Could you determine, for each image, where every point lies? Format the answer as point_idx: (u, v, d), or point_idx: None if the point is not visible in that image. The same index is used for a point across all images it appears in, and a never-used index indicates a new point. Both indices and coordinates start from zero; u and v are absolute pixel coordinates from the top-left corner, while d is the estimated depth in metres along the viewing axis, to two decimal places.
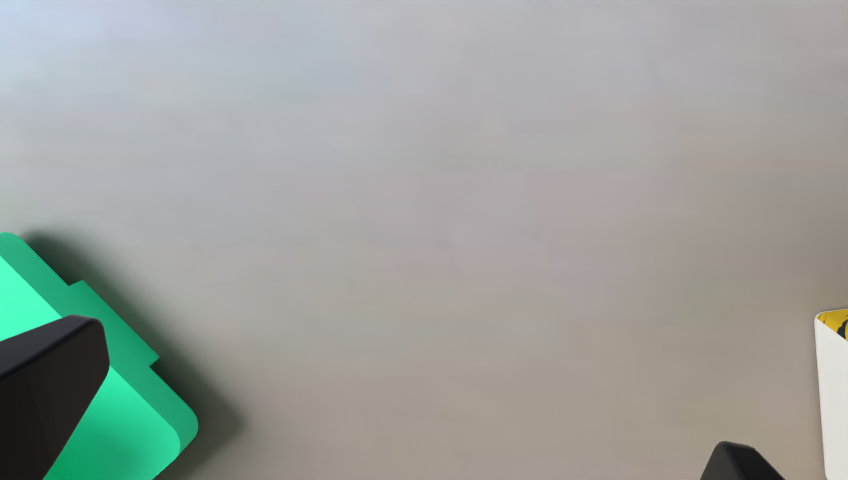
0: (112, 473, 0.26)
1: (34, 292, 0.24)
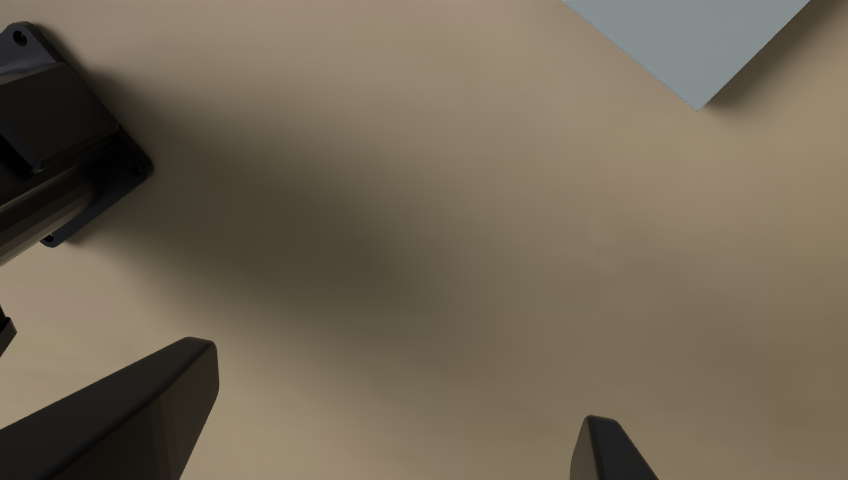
0: None
1: None
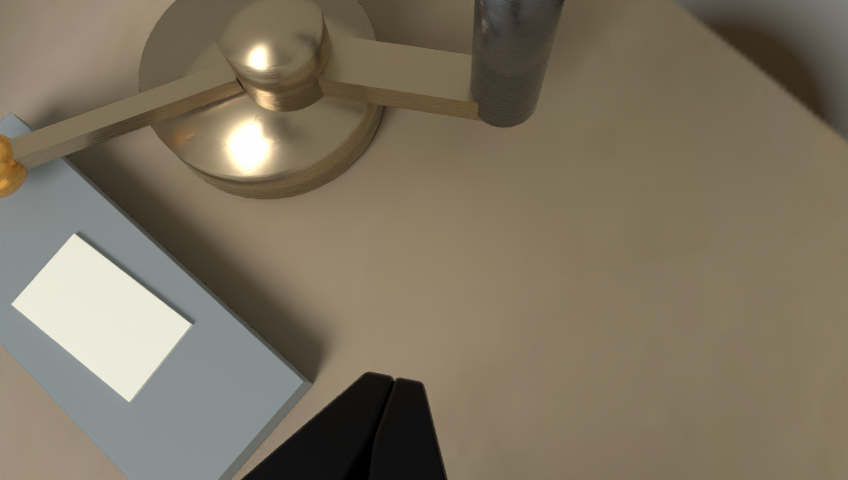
0: None
1: None
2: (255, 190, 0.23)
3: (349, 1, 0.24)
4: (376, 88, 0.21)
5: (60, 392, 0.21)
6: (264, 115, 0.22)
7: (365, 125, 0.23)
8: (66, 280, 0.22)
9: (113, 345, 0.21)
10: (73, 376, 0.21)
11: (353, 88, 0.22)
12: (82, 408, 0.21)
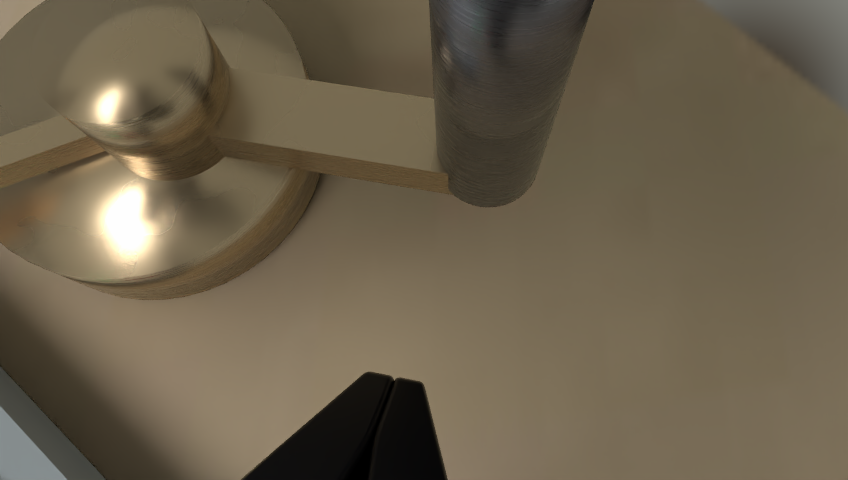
0: None
1: None
2: (128, 292, 0.16)
3: (268, 18, 0.17)
4: (295, 150, 0.14)
5: None
6: (135, 186, 0.15)
7: (289, 197, 0.16)
8: None
9: None
10: None
11: (262, 149, 0.14)
12: None
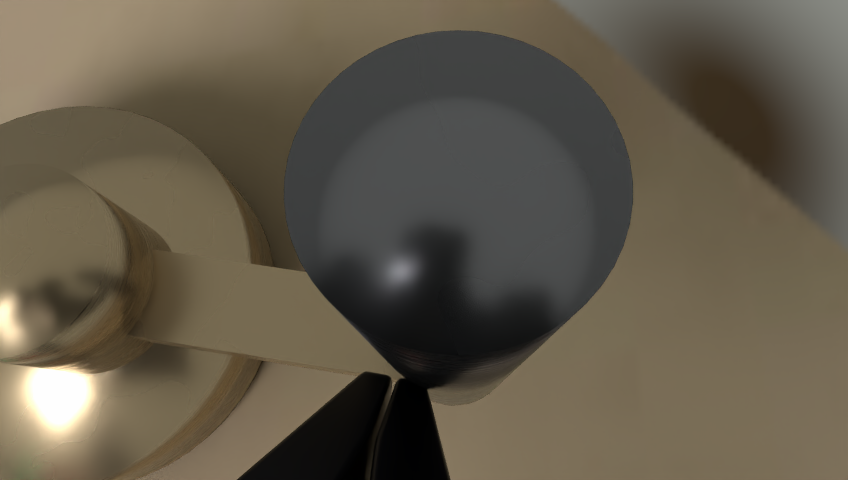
0: None
1: None
2: None
3: (203, 170, 0.15)
4: (229, 352, 0.12)
5: None
6: (52, 381, 0.13)
7: (232, 377, 0.14)
8: None
9: None
10: None
11: (193, 346, 0.13)
12: None
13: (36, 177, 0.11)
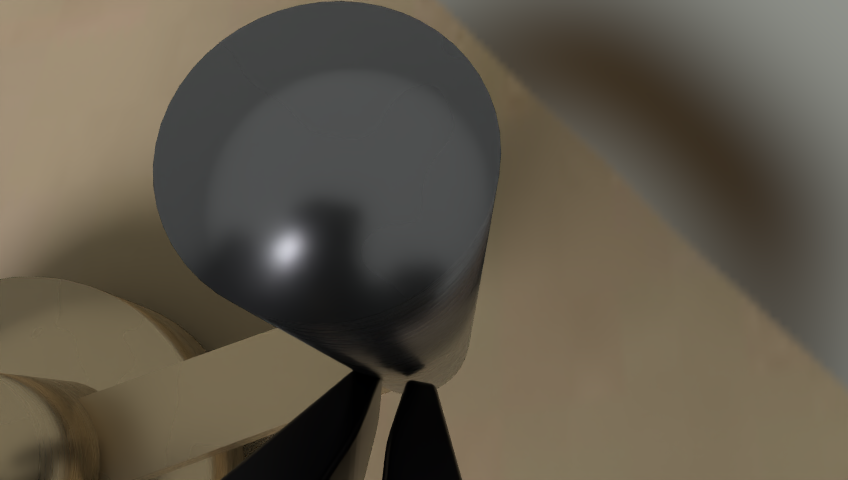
0: None
1: None
2: None
3: (92, 299, 0.14)
4: (206, 453, 0.12)
5: None
6: None
7: None
8: None
9: None
10: None
11: (168, 468, 0.12)
12: None
13: None
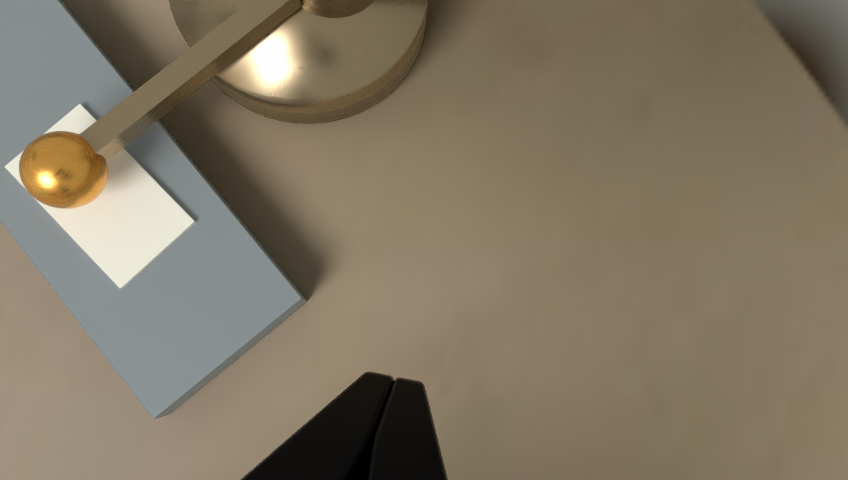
0: None
1: None
2: (343, 108, 0.22)
3: None
4: None
5: (48, 266, 0.20)
6: (331, 25, 0.21)
7: (427, 7, 0.22)
8: None
9: (110, 228, 0.21)
10: (64, 252, 0.21)
11: None
12: (70, 286, 0.20)
13: None
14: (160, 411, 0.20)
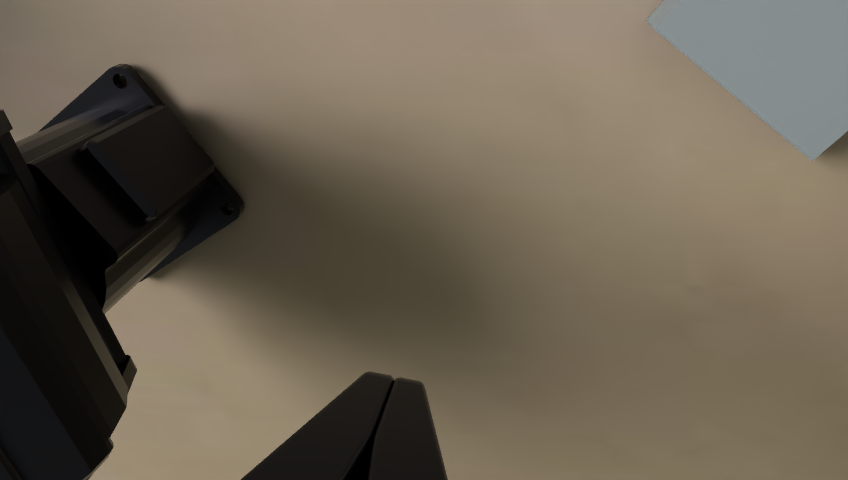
0: None
1: None
2: None
3: None
4: None
5: None
6: None
7: None
8: None
9: None
10: None
11: None
12: None
13: None
14: (664, 35, 0.17)
